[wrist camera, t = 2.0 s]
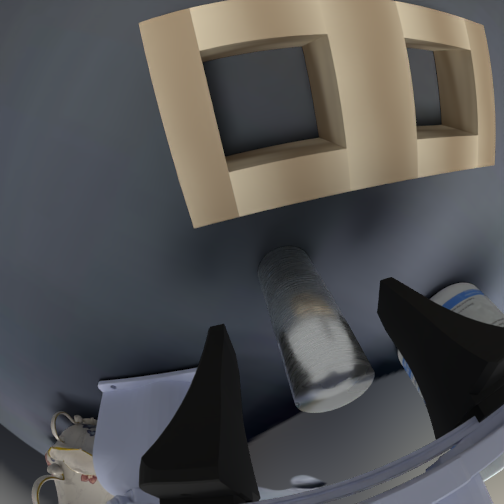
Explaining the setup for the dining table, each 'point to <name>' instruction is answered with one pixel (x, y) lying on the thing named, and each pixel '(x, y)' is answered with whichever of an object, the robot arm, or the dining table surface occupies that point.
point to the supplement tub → (475, 307)
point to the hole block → (321, 99)
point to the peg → (312, 333)
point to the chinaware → (73, 464)
